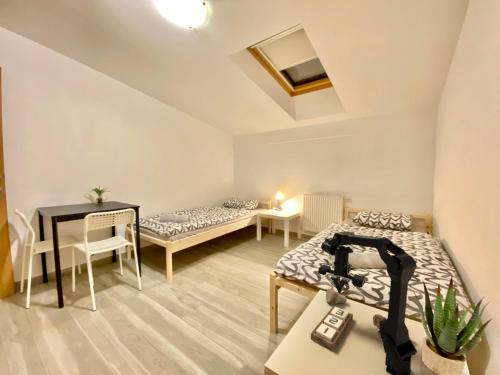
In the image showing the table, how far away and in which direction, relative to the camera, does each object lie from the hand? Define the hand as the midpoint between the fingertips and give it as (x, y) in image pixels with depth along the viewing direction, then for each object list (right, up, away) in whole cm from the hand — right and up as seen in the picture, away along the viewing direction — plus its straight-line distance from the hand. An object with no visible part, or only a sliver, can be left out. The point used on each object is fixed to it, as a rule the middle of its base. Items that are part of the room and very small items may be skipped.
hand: (339, 293), depth 97 cm
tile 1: (-10, -11, -10) cm, 18 cm away
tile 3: (0, -11, +1) cm, 11 cm away
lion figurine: (+17, -14, -8) cm, 23 cm away
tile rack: (-5, -13, -4) cm, 15 cm away
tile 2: (-5, -11, -5) cm, 13 cm away
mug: (+4, -12, +15) cm, 19 cm away
